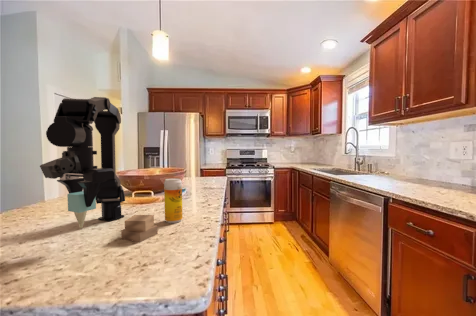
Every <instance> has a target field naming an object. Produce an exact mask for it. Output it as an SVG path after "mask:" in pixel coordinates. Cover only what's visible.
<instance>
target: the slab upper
mask: <svg viewBox="0 0 476 316" xmlns="http://www.w3.org/2000/svg"><path fill="white" fill-rule="evenodd" d="M153 225H155V215H154V214H134V215H132V216H130V217H129V218H126V219H125V220H124V229H125V231H147V230H148V229H149V228H150V227H152V226H153Z"/></svg>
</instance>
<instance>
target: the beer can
mask: <svg viewBox="0 0 476 316" xmlns="http://www.w3.org/2000/svg"><path fill="white" fill-rule="evenodd" d="M163 187H164V189H163V192H164V198H163V199H164V221H166V223H168V224H177V223H180V222H181V221H182V220H183V181H182V180H181V178H177V177H176V178H174V177H173V178H165V180H164V182H163Z"/></svg>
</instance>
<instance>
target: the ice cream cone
mask: <svg viewBox="0 0 476 316" xmlns="http://www.w3.org/2000/svg"><path fill="white" fill-rule="evenodd" d="M73 213H74V216H75V219H76V221H77V224H78V226H79V229H81V230H82V229H83V227H84V223H85V220H86V216H87V213H88V211H85V212H81V213H77V212H73Z"/></svg>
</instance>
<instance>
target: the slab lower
mask: <svg viewBox="0 0 476 316" xmlns="http://www.w3.org/2000/svg"><path fill="white" fill-rule="evenodd" d="M158 231H159V229H158V225H156V224H154V225H153V226H152V227H150V228H149V229H148V230H147V231H125V228H123V229H121V232H120V234H121V240H126V241H130V242H135V243H142V242H145V241H146V240H149V239H150V238H153V237H154V236H156V235H159V234H158Z"/></svg>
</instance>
